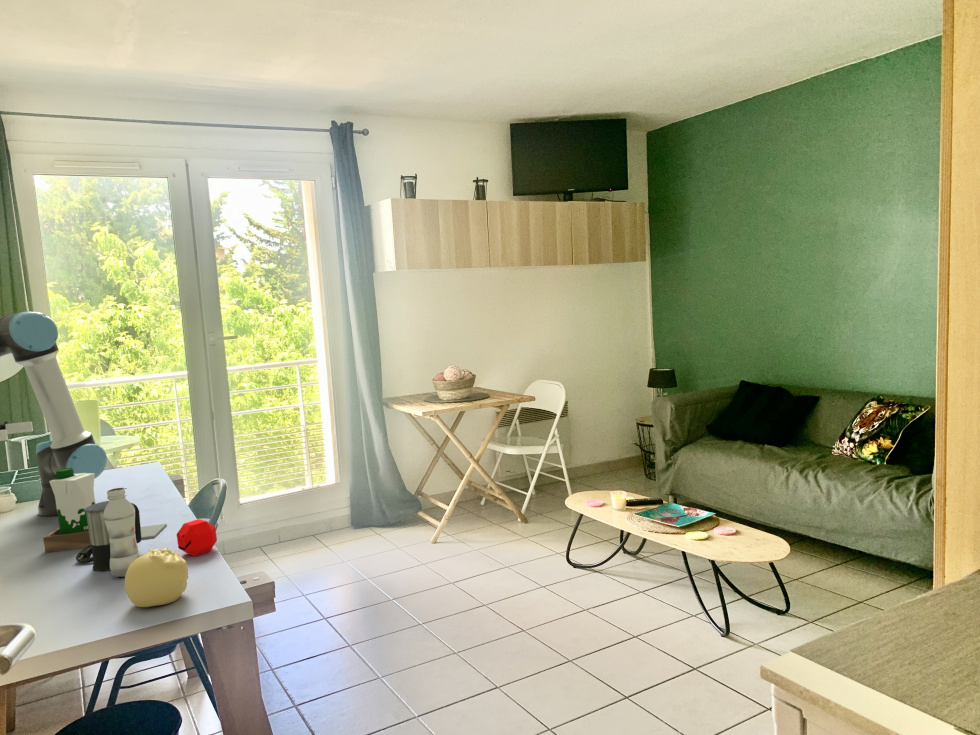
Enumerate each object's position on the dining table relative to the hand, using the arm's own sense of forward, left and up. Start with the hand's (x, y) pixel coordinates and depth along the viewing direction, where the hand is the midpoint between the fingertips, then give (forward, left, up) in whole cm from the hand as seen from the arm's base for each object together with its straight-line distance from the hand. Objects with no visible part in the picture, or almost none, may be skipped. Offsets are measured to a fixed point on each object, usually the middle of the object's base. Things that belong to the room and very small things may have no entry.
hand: (20, 430), depth 194 cm
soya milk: (0, +11, -32) cm, 34 cm away
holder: (0, +11, -32) cm, 34 cm away
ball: (+24, +48, -32) cm, 62 cm away
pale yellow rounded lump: (+54, +47, -32) cm, 79 cm away
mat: (0, +26, -32) cm, 41 cm away
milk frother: (+22, +25, -32) cm, 46 cm away
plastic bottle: (+34, +34, -32) cm, 58 cm away
